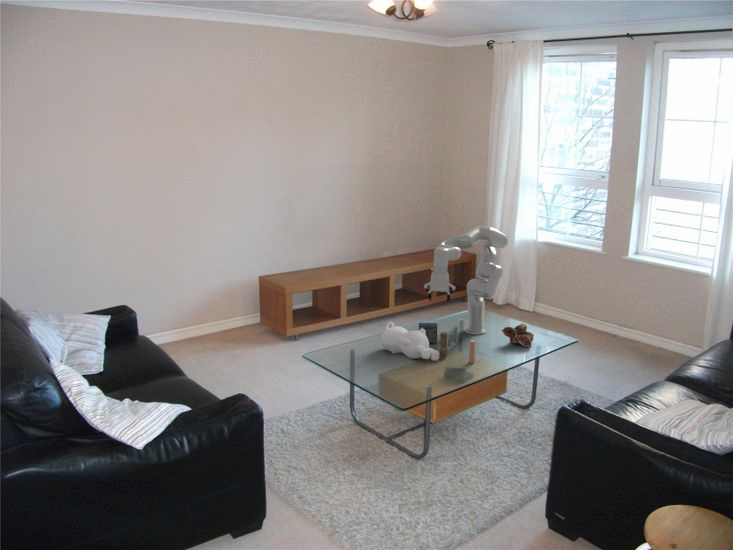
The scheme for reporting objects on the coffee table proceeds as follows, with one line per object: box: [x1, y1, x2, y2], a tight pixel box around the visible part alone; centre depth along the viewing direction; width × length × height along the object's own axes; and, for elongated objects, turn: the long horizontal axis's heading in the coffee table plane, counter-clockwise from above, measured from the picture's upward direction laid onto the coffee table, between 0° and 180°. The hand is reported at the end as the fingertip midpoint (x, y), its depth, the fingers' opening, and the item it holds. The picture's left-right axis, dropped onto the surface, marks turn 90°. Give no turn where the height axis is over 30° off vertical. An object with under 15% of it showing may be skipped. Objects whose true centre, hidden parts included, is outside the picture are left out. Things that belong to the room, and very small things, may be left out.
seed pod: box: [500, 323, 535, 348], centre depth 370 cm, size 14×18×16 cm
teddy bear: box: [380, 321, 440, 362], centre depth 353 cm, size 19×18×35 cm
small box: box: [418, 322, 438, 345], centre depth 373 cm, size 11×6×10 cm, turn 84°
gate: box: [447, 325, 458, 354], centre depth 359 cm, size 18×2×11 cm, turn 154°
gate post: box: [439, 331, 449, 360], centre depth 349 cm, size 3×3×14 cm
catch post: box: [468, 339, 477, 364], centre depth 343 cm, size 2×2×12 cm
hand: (439, 300), depth 362 cm, fingers open, 9 cm apart
